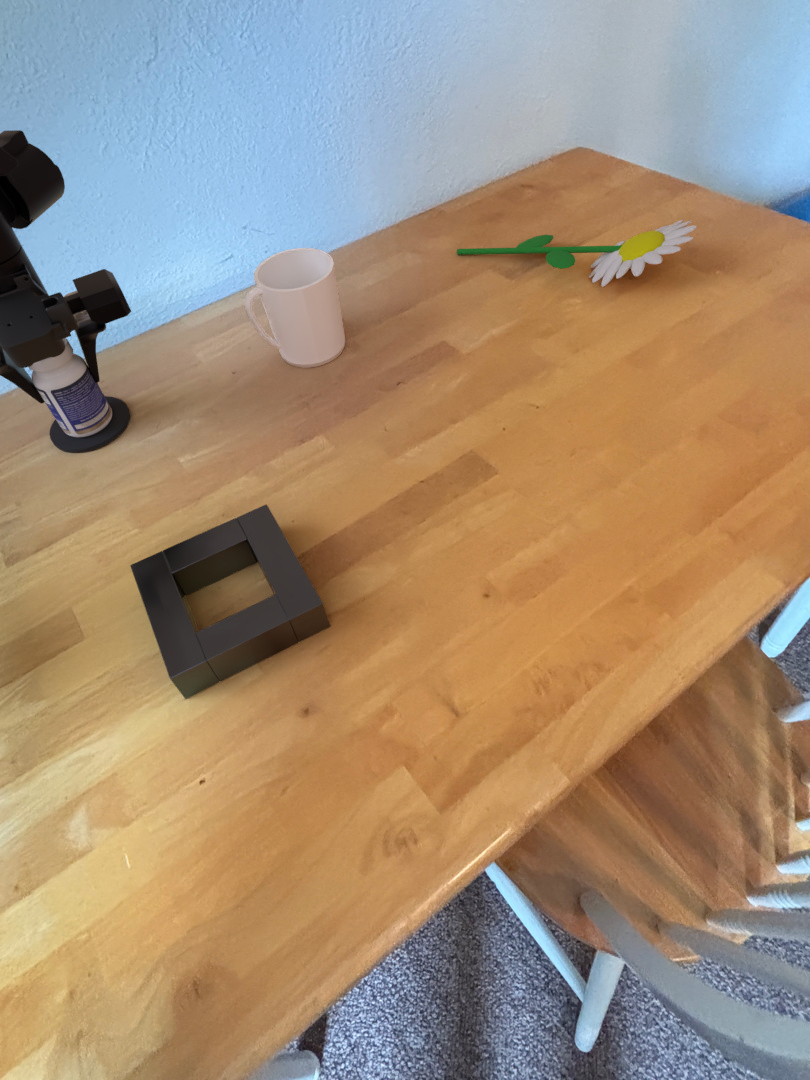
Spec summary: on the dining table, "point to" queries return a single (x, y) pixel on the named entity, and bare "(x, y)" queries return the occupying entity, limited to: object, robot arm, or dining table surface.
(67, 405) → the pill bottle
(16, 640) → the dining table surface
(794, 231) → the dining table surface
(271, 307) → the mug
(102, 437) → the coaster
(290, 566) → the stand
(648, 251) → the decorative flower
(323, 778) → the dining table surface
